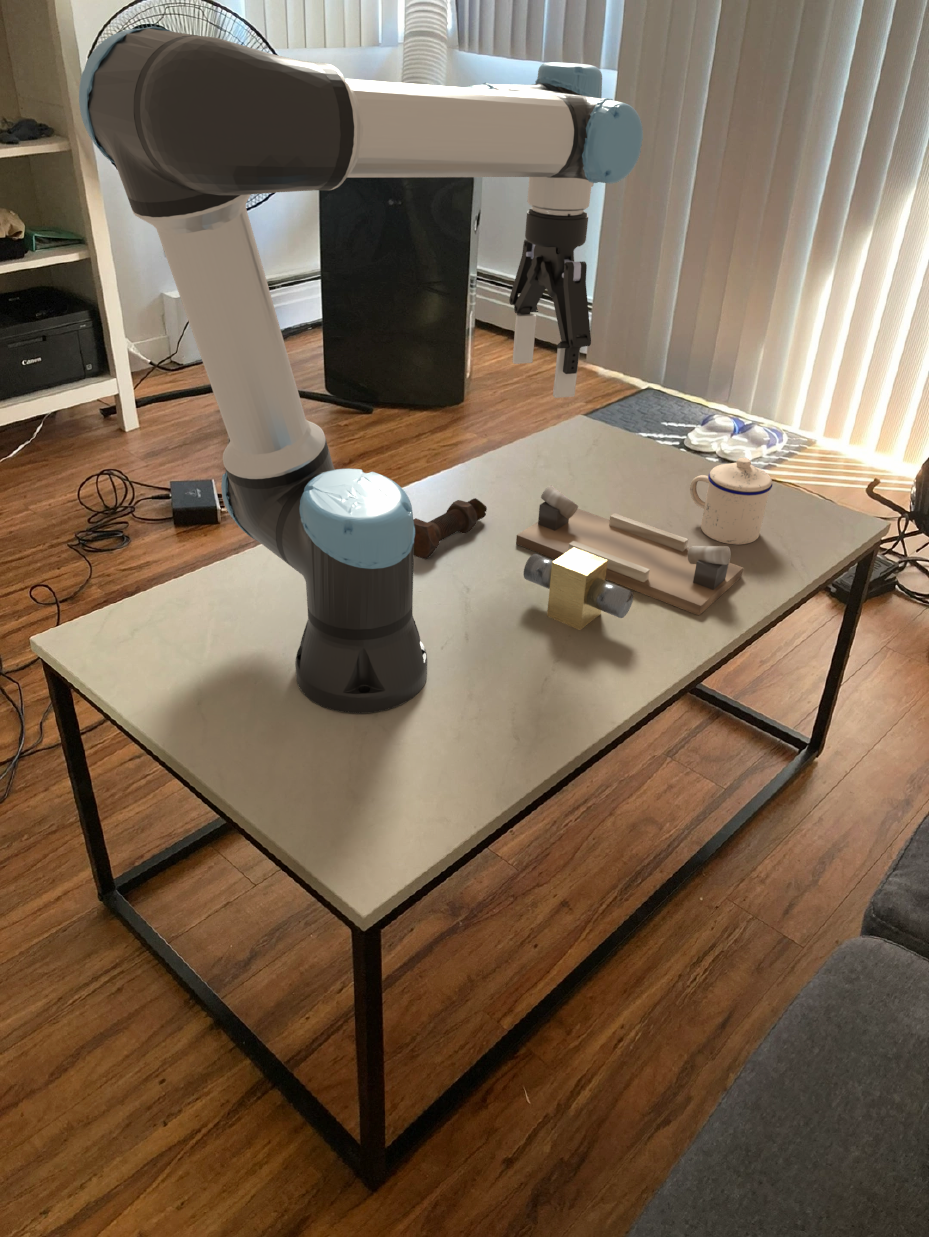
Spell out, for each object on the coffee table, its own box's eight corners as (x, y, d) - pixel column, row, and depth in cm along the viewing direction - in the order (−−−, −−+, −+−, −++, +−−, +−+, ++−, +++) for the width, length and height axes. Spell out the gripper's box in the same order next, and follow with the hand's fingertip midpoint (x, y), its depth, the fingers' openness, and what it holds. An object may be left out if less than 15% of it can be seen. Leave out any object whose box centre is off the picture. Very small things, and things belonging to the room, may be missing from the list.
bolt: (481, 531, 149) (419, 566, 139) (459, 507, 150) (396, 541, 140) (500, 507, 145) (437, 541, 135) (477, 482, 146) (413, 514, 135)
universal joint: (611, 643, 122) (618, 588, 117) (518, 603, 129) (522, 550, 124) (631, 626, 125) (639, 572, 121) (539, 588, 132) (544, 536, 128)
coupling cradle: (699, 615, 128) (708, 567, 124) (515, 543, 142) (518, 498, 138) (741, 577, 137) (751, 531, 133) (564, 513, 151) (568, 469, 147)
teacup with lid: (771, 531, 148) (787, 459, 142) (743, 552, 143) (759, 479, 136) (699, 506, 155) (712, 436, 148) (670, 526, 149) (682, 454, 142)
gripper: (634, 229, 111) (610, 409, 123) (544, 190, 131) (531, 348, 142) (574, 231, 109) (555, 414, 120) (492, 190, 129) (482, 351, 140)
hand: (542, 379), depth 131 cm, fingers open, 13 cm apart
